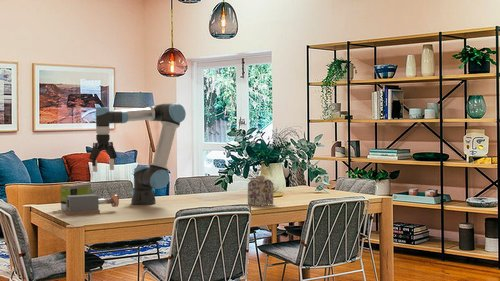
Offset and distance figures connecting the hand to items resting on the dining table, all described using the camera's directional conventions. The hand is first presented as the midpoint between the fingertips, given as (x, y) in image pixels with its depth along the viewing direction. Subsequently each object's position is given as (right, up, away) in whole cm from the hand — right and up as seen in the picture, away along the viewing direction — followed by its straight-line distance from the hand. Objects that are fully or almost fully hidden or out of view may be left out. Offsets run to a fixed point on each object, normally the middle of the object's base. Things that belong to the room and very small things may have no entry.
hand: (103, 170), depth 388 cm
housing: (-9, -23, -11) cm, 27 cm away
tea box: (-18, -23, +7) cm, 30 cm away
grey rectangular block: (-1, -21, -6) cm, 22 cm away
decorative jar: (+91, -23, +29) cm, 98 cm away
